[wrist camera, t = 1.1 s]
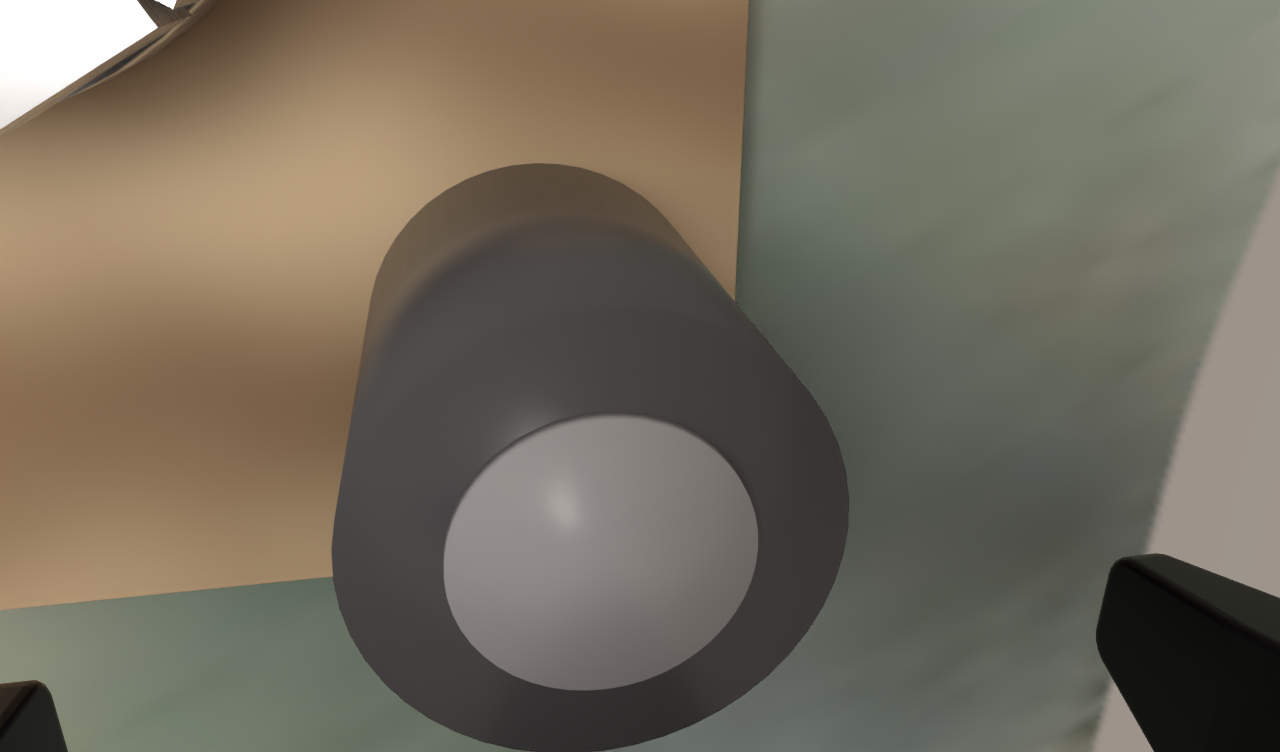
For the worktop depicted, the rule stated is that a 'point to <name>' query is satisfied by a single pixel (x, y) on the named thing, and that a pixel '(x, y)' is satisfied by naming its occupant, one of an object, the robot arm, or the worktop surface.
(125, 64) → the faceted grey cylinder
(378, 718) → the worktop surface
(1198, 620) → the robot arm
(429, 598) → the cap
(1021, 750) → the worktop surface
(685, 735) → the worktop surface
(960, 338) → the worktop surface
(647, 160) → the board
